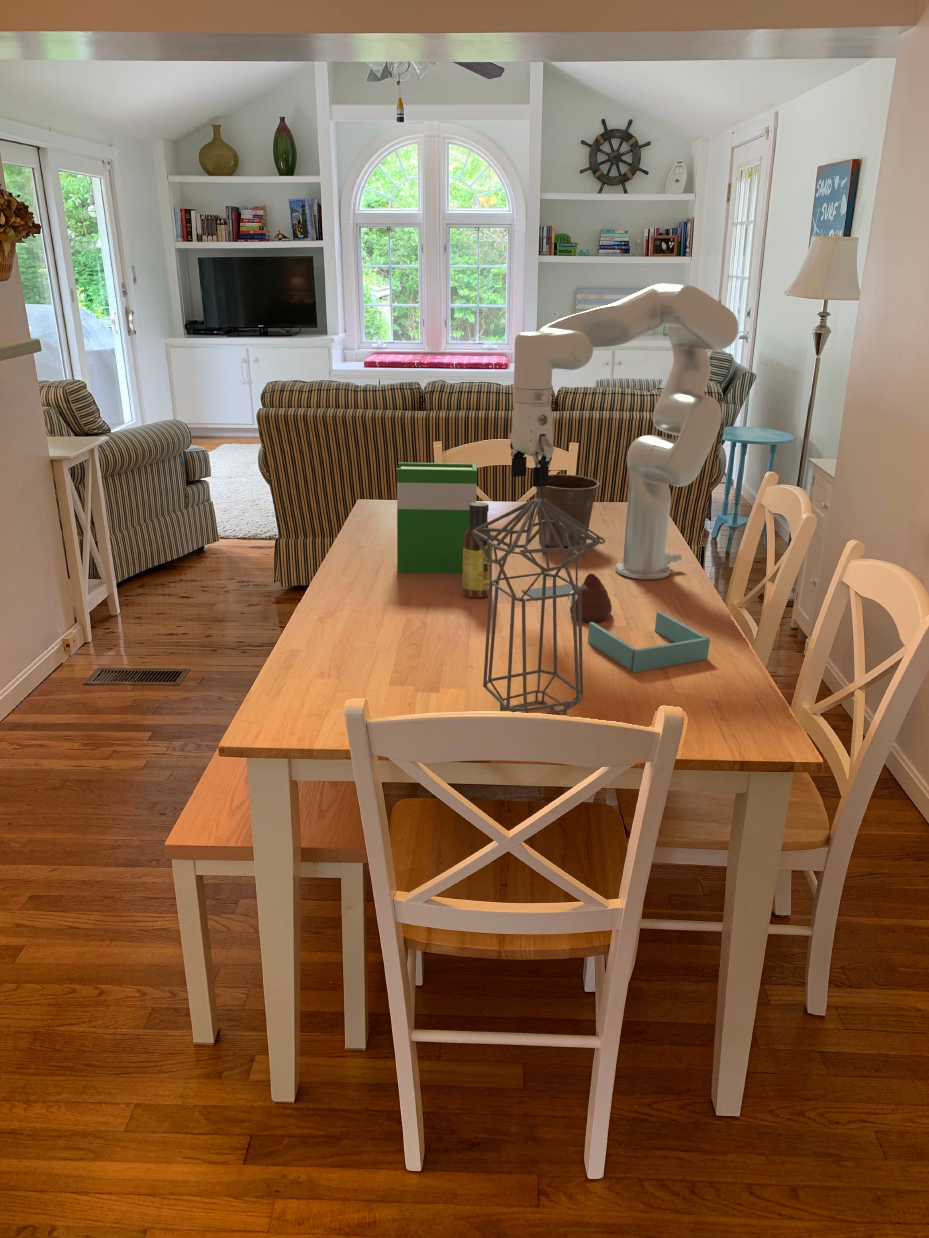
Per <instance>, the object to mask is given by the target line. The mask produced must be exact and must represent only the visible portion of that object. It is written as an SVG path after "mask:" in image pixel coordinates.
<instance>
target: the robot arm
mask: <svg viewBox="0 0 929 1238" xmlns="http://www.w3.org/2000/svg"><path fill="white" fill-rule="evenodd" d="M662 327H663V328H664V327H667V328H666V331H667V335H668V339H669V342H670V345H671V349H672V355H673V364H672V368H671V371H670V373H669V375H668V378H667V380H666V382H665V383H664V384H665V385H664V387H663V388H662V391H661V393H660V395H659V398H658V400H657V403H656V405H655V407H654V409H653V412H652V423H653V425H654V426H655V428H656V429H658V430H659V431H662V432H663V433H667V434H669V435H673V436H678V437H677V440H676V439H672V438H668V437H664V436H659V435H653V434H647V435H642V436H639V437H637V438H636V439H635V440H634V441H632V442H631V444H630V446H629V448H628V450H627V455H626V466H627V476H628V498H627V506H626V507H627V509H626V510H627V511H626V520H625V534H624V544H623V554H622V560H620V561H618V562H617V563H616V564H615V572H617V573H618V574H619V575H621V576H623V577H627V578H630V579H636V580H646V581H647V580H648V581H650V580H653V581H654V580H661V579H665V578H667V577H669V576H670V574H671V567H670V566H669V565H670V564H671V563H679V562H681V561H682V559H683V558H682V557H683V556H682V554H681V553H672V554H671V553H670V552H669V551H667V550H666V549H667V540H668V539H667V538H668V529H669V520H670V519H669V518H670V509H671V502H672V499H671V490H670V486H674V487H686V486H689V485H690V484H692V483H693V482H694V481H695V480H696V478H697V477H698V476H699V474H700V472H701V471H702V468H703V466H704V464H705V462H706V460H707V459H708V456H709V453H710V451H711V450H712V446H713V444H714V442H715V440H716V439H717V435H718V434H719V431H720V428H721V426H722V425H721V424H722V417H723V416H722V415H723V414H722V408H721V405H720V403H719V402H718V401H717V400H716V399H715V398H714V397H712V396H710V395H705V394H704V393H705V391H706V388H707V386H708V383H709V381H710V377H711V370H712V369H711V363H710V359H709V355H708V351H707V350H710V351H722V350H725V349H727V348H729V347H730V346H731V345H732V344H733V343H734V342H735V340H736V338H737V337H738V333H739V322H738V319H737V317H736V315H735V313H734V312H733V311H732V310H731V309H730V308H729V307H727V306H725V305H724V304H723V303H721V302H720V301H718V300H717V299H715V298H714V297H712V296H711V295H709V294H707V293H706V292H705V291H703V290H702V289H700V288H699V287H697V286H694V285H692V284H687V283H686V284H685V283H667V282H665V283H656V284H653V285H650V286H648V287H646V288H643V289H641V290H638V291H637V292H634V293H632V294H630V295H628V296H626V297H624V298H622V299H619V300H617V301H614V302H612V303H609V304H607V305H603V306H602V305H601V306H599V307H596V308H592V309H589V310H586V311H582V312H578V313H575V314H572V315H568V316H566V317H562V318H559V319H558V320H555V321H553V322H551V323H548V324H547V325H544V326H542V327H541V328H540V329H539V330H537V331H522V332H519V333H518V334H517V335H516V336H515V339H514V358H513V359H514V364H513V367H514V368H513V396H512V397H513V399H512V400H513V401H512V402H513V403H512V404H513V411H512V412H513V414H512V424H511V432H510V433H509V435H508V437H509V441H510V442H509V443H510V445H509V447H510V449H511V452H510V457H511V473H510V474H511V477H513V478H519V477H525V476H526V475H527V459H528V457H527V456H530V457H532V459H533V462H534V465H535V466H533V471H532V479H533V480H532V486H533V487H535V488H536V487H542V486H547V485H548V475H550V474H549V473H550V472H549V471H550V469H549V468H550V467H551V461H552V459H553V457H552V456H553V454H554V451H555V450H554V423H553V413H552V412H553V411H552V406H551V405H552V403H551V402H552V387H553V386H552V385H553V384H552V381H553V370H555V369H558V370H560V369H561V370H566V371H576V370H579V369H581V368H583V367H585V366H587V364H588V363H590V361H591V359H592V357H593V355H594V354H593V353H594V348H608V347H617V346H622V345H626V344H628V343H630V342H632V341H634V340H636V339H638V338H641V337H642V336H645V335H647V334H649V333H650V332H654V331H655V330H657V329H659V328H662ZM525 455H527V456H525ZM666 551H667V552H666Z"/></svg>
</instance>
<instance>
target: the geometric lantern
mask: <svg viewBox="0 0 929 1238" xmlns="http://www.w3.org/2000/svg"><path fill="white" fill-rule="evenodd" d="M557 510H558V511H557ZM545 512H546V513H547V514H548V515H549V516H550V517H551V518H552V519H553V520H554V521H550V519H549V518H548V516H547V514H546V513H545ZM560 512H561V513H560ZM516 513H517V514H516ZM541 513H542V515H543V517H544V519H545V520H543V521H542V518H541ZM513 514H515V515H514V517H512V518H511V519H510V520H508V522H507V523H506V524H504V526H503V527H502V528H495V527H494V528H493V527H489V526H490V525H493V524H495V523H497V522H499V521H502V520H503V519H505V518H508V517H510V516H512V515H513ZM563 514H564V515H565V516H564V515H563ZM566 516H567V517H568V518H567V517H566ZM569 518H570V519H571V520H573V521H574V522H576V523H577V524H579V525H580V526H582V527H583V528H585V529H586V530H588V532H587V531H585V530H584V529H583V528H581V527H580V526H578V525H577V524H576V523H574V522H573V521H571V520H570V519H569ZM523 519H524V520H523ZM536 519H537V522H536ZM522 520H523V521H522ZM521 521H522V523H521V525H520V527H519V529H516V530H514V529H515V528H516V527H517V526H518V525H519V523H520V522H521ZM551 522H553V523H557V524H558V526H559V529H560V531H561V533H562V535H563V537H564V540H565V542H566V544H567V546H568V547H566V548H565V547H563V545H562V543H561V541H560V539H559V538H558V536H557V534H556V532H555V530H554V528H553V526H552V524H551ZM547 524H548V526H549V528H550V530H551V532H552V534H553V536H554V538H555V540H556V542H557V544H558V546H559V547H558V548H554V547H546V545H545V541H544V533H543V528H544V527H545V526H546V525H547ZM487 526H488V528H485V527H487ZM537 526H538V528H537V529H536V530H535V532H534V533H533V534H532V532H533V530H534V528H535V527H537ZM563 528H564V529H565V530H566V531H568V532H569V533H570V534H572V535H573V537H575V538H576V540H575V545H574V547H571V544H570V542H569V540H568V538H567V536H566V533H565V531H564V529H563ZM576 530H577V531H578V532H580V533H581V534H582V535H581V534H579V533H578V532H577V531H576ZM478 532H479V533H478ZM487 532H490V534H489V533H487ZM539 532H540V539H541V543H540V544H541V546H540V547H541V548H532V549H531V548H530V549H529V548H528V546H529V545H530V544H531V542H532V541H533V540H534V539H535V538H536V537H538V536H539ZM471 533H472V535H473V536H474V538H475V539H476V541H477V543H478V544H479V546H480V548H481V549H482V551H483V552H484V554H485V556H486V557H487V559H488V561H490V582H489V595H488V596H487V597H488V599H487V612H486V613H487V617H486V634H485V646H484V647H485V650H484V665H483V683H482V687H483V688H484V690H486V692H488V693H489V694H490V695H491V696H492V697H493V698H494V699H495V700H496V701H497V702H498V703H499V712H500V711H503V712H504V711H505V710H506V711H509V712H511V713H513V712H524V713H529V714H530V712H532V711H538V710H543V709H550V710H552V711H548V712H545V713H546V714H549V715H553V714H557V715H559V716H560V715H566V716H567V714H568V712H567V711H568V710H571V708H574V707H575V706H576V705H578V704H580V703H581V701H582V699H583V697H584V673H583V672H584V670H583V669H584V668H583V660H584V659H583V622H582V606H581V591H583V590H584V589H583V588H581V587H580V586H579V583H578V582H579V579H578V573H579V572H578V569H579V568H578V561H579V560H578V559H579V558H581V557H585V554H586V553H588V552H590V551H591V550H593V549H594V548H595V547H597V546H598V545H599V544H600V545H603V544H605V543H606V541H607V540H606V539H605V538H603V537H602V536H600V535H598V534H597V533H596V532H594V531H593V530H591V529H590V528H589V529H588V528H587V527H585V526H584V525H582V524H581V523H579V522H578V521H576V520H575V519H573V518H572V517H570V516H569V515H567V514H566V513H564V512H563V511H561V510H560V509H558V508H557V507H555V506H554V505H553V504H551V503H550V502H548V501H547V500H545V499H544V501H542V500H541V499H539V500H538V497H537V498H535V499H531V500H528V501H526V502H524V503H523V504H521V505H519V506H517V507H516V508H514V509H512V510H510V511H508V512H505V513H504V514H501V515H500V516H498V517H495V518H493V519H491V520H489V521H487V523H485V524H483V525H481V526H479V527H477V528H476V529H475V530H473V531H472V532H471ZM480 533H481V534H480ZM491 533H495V534H494V535H493V534H491ZM503 533H504V534H503ZM482 534H483V535H482ZM502 534H503V536H501V535H502ZM513 534H514V535H515V537H514V539H513ZM523 534H526V536H525V543H524V544H519V542H520V539H521V537H522V535H523ZM531 534H532V535H531ZM484 535H485V536H484ZM486 536H487V537H486ZM499 536H501V538H499ZM508 536H509V543H508V542H506V541H505V540H506V539H507V538H508ZM478 537H480V538H482V539H484V540H486V541H487V548H488V552H487V551H486V549H485V547H484V546H483V544H482V542H481V541H480V539H479V538H478ZM488 537H489V538H491V539H490V540H489V538H488ZM578 539H579V540H582V541H584V544H583V545H579V546H577V543H578ZM587 540H589V541H591V542H587ZM494 541H495V542H497V543H495V542H494ZM490 545H491V546H492V547H493V548H492V550H493V554H494V555H493V556H494V558H492V559H491V554H490ZM501 545H503V546H505V547H503V546H501ZM516 549H520V551H519V552H518V551H515V550H516ZM497 550H498V551H501V552H504V554H503V555H502V556H500V558H498V553H497ZM578 550H580V551H579V552H578ZM549 552H551V553H553V552H561V553H562V554H563V560H562V562H561V564H560V565H555V566H552V567H550V561H549V554H548V553H549ZM537 553H538V554H539V553H542V556H543V557H545V565H546V567H544V566H543V565H542V564H541V563H539V562H538V561H537V559H536V558H535V557H534V555H533V554H537ZM511 554H514V555H520V556H522V557H523V558H524V559H526V560H527V561H529V562H530V563H531V564H533V565H534V566H535V567H537V568H538V569H539V570H540V572H533V573H527V574H519V575H518V574H517V575H512V576H508V575H507V573H506V571H505V566H506V562H507V561H508V557H509V556H510V555H511ZM572 554H573V555H574V556H573V557H571V558H570V556H571V555H572ZM529 555H530V556H529ZM569 558H570V559H569ZM573 562H575V583H574V579H573V576H572V574H571V572H570V569H569V565H571V564H572V563H573ZM493 564H495V565H498V567H499V571H498V573H497V577H496V578H495V579H493ZM563 569H564V570H565V573H566V575H567V577H568V579H566V578H565V577H562V576H561V575H559V573H560V572H561V571H562V570H563ZM554 571H556V572H555V573H552V572H554ZM550 572H551V573H550ZM533 576H535V579H534V580H533V581H532V582H531V584H530V585H529V586H528V588H527V589H525V590H526V591H525V593H523V594H522V595H521V596H520V597H518V596H517V595H516V593H515V591H514V589H513V586H512V584H511V582H510V580H513V579H520V578H526V577H533ZM541 576H542V587H541V588H542V597H537V598H531V597H530V598H525V596H527V592H528V591H529V590H530V589H532V587H533V586H534V585H535V583H536V582H537V581H538V580H539V578H540V577H541ZM547 577H549V578H552V586H553V595H552V596H545V592H546V587H547ZM557 578H558V579H560V580H562V581H563V582H565V583H566V584H571V586H572V589H573V592H572V593H568V594H560V595H556V586H557ZM500 581H505V583H506V586H507V588H508V589H509V592H508V591H506V589H504V588H502V587H501V586H500ZM493 587H494V600H493ZM499 591H501V592H502V593H503V594H505V595H507V596H508V597H509V598H511V600H510V601H511V605H510V625H509V642H508V643H509V644H508V659H507V660H508V663H507V665H508V666H507V674H506V675H501V676H497V677H492V672H493V664H494V663H493V662H494V661H493V660H494V653H495V652H494V650H495V638H496V627H497V626H496V625H497V613H498V598H499ZM571 595H572V613H573V617H572V633H573V636H572V637H573V653H574V655H573V656H574V677H575V680H574V681H575V685H574V684H572V683H571V682H570V681H568V680H567V679H566V678H565V677H563V676H561V675H560V674H559V673H558V644H557V643H558V642H557V641H558V637H557V635H558V633H557V632H558V629H557V627H558V625H557V622H558V621H557V598H564V597H568V596H571ZM575 595H578V620H576V598H575ZM524 598H525V599H524ZM548 599H552V629H553V630H552V633H553V634H552V637H553V638H552V639H553V641H552V642H553V643H552V644H553V645H552V646H553V671H551V670H545V669H542V658H543V643H544V642H543V640H544V625H545V623H544V621H545V607H546V600H548ZM538 600H541V604H540V605H541V608H540V609H541V611H540V623H539V624H540V626H539V627H540V629H539V643H538V661H537V669H534V670H530V671H527V637H526V636H527V632H526V631H527V630H526V629H527V628H526V627H527V626H526V625H527V624H526V619H527V618H526V602H532V601H538ZM492 601H493V610H492ZM516 601H517V602H521V640H522V641H521V642H522V646H521V648H522V649H521V650H522V672H519V673H518V672H517V673H512V672H513V671H512V669H513V650H514V649H513V648H514V630H515V628H514V627H515V609H516V604H515V603H516ZM491 618H492V619H491ZM491 620H492V624H491ZM577 622H578V623H577ZM577 625H578V626H577ZM490 633H491V635H490ZM490 636H491V637H490ZM489 651H490V652H489ZM534 674H538V675H537V687H536V688H537V689H536V690H531V691H527V690H528V689H527V686H528V685H527V676H529V675H534ZM541 674H546V675H551V676H552V677H551V678H550V680H549V681H548V682H547V684H546V686H545V687H544V689H543V690H540V687H541V686H540V685H541ZM519 677H522V693H519V694H516V695H511V692H512V691H511V689H512V678H519ZM555 678H557V679H559V680H560V681H561V682H563V683H564V684H566V685H567V686H568V687H570V688H571V689H572V690H574V691H575V697H574V698H573V699H572V700H568V701H562V702H561V701H560V700H558V699H556V698H555V697H554V696H552V695H550V694H548V692H546V691H547V690H548V688H549V687H550V685H551V683H552V682H553V680H554V679H555ZM501 680H507V681H506V682H507V684H506V697H504V698H503V697H502V695H501V693H500V692H499V690H498V688H497V687H496V686H495V684H494V683H493V682H497V681H501ZM489 684H490V685H491V686H492V688H493V690H494V691H495V692H494V691H493V690H492V689H491V688H490V687H489V686H488V685H489ZM531 694H535V698H534V699H535V700H531V701H528V695H531ZM539 694H541V700H538V699H539V698H538V697H539ZM545 696H546V697H548V698H549V699H551V700H552V701H553V703H550V704H549V703H548V702H547V701H545ZM520 697H523V703H522V702H521V703H519V704H514V705H511V700H512V699H515V698H520ZM505 701H506V702H505ZM554 702H555V703H554ZM537 703H538V704H541V705H537V706H536V705H535V706H532V707H531V706H530V707H528V705H533V704H537ZM556 707H563V708H562V709H556ZM562 713H563V714H562Z"/></svg>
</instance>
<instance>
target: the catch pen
mask: <svg viewBox="0 0 929 1238" xmlns="http://www.w3.org/2000/svg"><path fill="white" fill-rule="evenodd" d="M654 632H656V633H657V634H659V635H660V636H662V637H664V638H666V639H667V640H669V641H671V642H672V643H666V644H660V645H655V646H650V647H649V646H648V647H643V648H635V647H633V646H632V645H630V644H629V643H627V642H625V641H624V640H622V639H621V638H619V637H617V636H615V635H614V634H613V633H611V632H610V631H608V630H606V629H605V628H604V627H602V626H600V625H598V623H594V622H589V623H588V633H587V643H588V644H590V645H591V646H593V647H594V648H596V649H597V650H599V651H600V652H602V653H603V654H605V655H606V656H607V657H609V658H611V659H612V660H613V661H615V662H617V663H618V664H620V665H621V666H623V667H624V668H625V669H627V670H629V671H630V672H632V673H639V672H645V671H649V670H651V671H652V670H655V669H660V668H666V667H671V666H677V665H682V664H688V663H692V662H693V663H694V662H699V661H704V660H708V659H709V658H708V657H709V648H710V640H711V639H710V637H708V636H706V635H704V634H703V633H701V632H699V631H697V630H696V629H693V628H691V627H689V626H688V625H686V624H684V623H682V622H680V621H678V620H677V619H675V618H673V617H671V616H669V615H667V614H665V613H664V612H662V611H657V612H656V615H655V626H654Z"/></svg>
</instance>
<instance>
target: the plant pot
mask: <svg viewBox="0 0 929 1238" xmlns="http://www.w3.org/2000/svg"><path fill="white" fill-rule="evenodd" d="M599 487H600V482H599V481H598V480H596V479H594V478H590V477H586V476H582V475H574V474H549V475H548V485H547V486H542V487H535V488H536V497H537V499H538V500H539V499H541V500H542V501H544V499H545V500H547V501H548V502H550V503H551V504H553V505H554V506H555V507H557V508H558V509H560V510H561V511H563V512H564V513H566V514H567V515H569V516H570V517H572V518H573V519H575V520H576V521H578V522H579V523H581V524H582V525H584V526H585V527H587V528H588V529H590V524H591V523H590V522H591V517H592V511H593V508H594V507H593V506H594V501H595V500H596V496H597V491H598V488H599ZM557 511H558V510H557ZM545 513H546V512H545ZM560 513H561V512H560ZM546 514H547V513H546ZM563 515H564V514H563ZM547 516H548V518H549V519H550V521H554V520H553V519H552V518H551V517H550V516H549V515H548V514H547ZM564 516H565V515H564ZM566 517H567V516H566ZM541 518H542V521H543V520H545V519H544V517H543V515H542V513H541ZM567 518H568V517H567ZM569 519H570V518H569ZM570 520H571V519H570ZM571 521H573V520H571ZM573 522H574V521H573ZM574 523H576V522H574ZM551 524H552V526H553V528H554V530H555V532H556V534H557V536H558V538H559V539H560V541H561V543H562V545H563V547H564V548H568V546H567V544H566V542H565V540H564V537H563V535H562V533H561V531H560V529H559V526H558V524H557V523H553V522H551ZM576 524H577V523H576ZM577 525H578V526H580V525H579V524H577ZM580 527H581V528H583V527H582V526H580ZM563 529H564V528H563ZM583 529H584V530H585V531H587V532H588V533H589V531H588V530H586V529H585V528H583ZM564 531H565V533H566V536H567V538H568V540H569V542H570V544H571V547H574V545H575V540H576V538H575V537H573V535H572V534H570V533H569V532H568V531H566V530H565V529H564ZM576 531H577V530H576ZM577 532H578V531H577ZM543 533H544V541H545V547H548V548H558V547H559V546H558V544H557V542H556V540H555V538H554V536H553V534H552V532H551V530H550V528H549V526H548V524H547V525H546V526H545V527H544V528H543ZM578 533H579V534H581V533H580V532H578ZM581 535H582V534H581ZM538 541H539V543H540V544H541V539H540V532H539V534H538ZM583 544H584V541H582V540H579V539H578V543H577V546H579V545H583Z"/></svg>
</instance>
